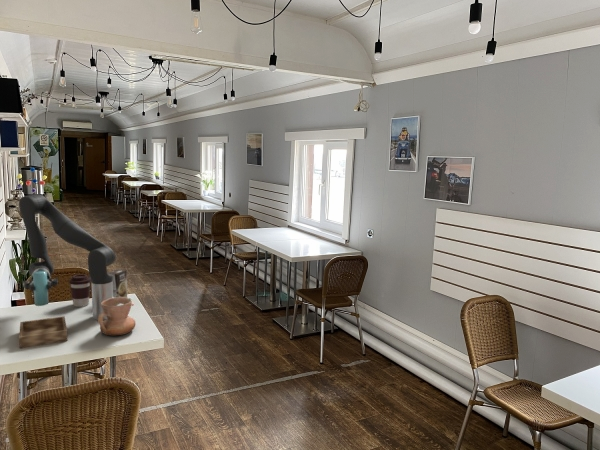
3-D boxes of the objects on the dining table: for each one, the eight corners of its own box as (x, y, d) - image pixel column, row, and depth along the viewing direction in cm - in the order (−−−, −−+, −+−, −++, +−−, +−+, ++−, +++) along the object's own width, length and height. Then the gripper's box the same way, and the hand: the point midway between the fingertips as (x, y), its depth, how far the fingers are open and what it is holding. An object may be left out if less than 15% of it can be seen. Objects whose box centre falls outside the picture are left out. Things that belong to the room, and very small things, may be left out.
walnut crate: (65, 325, 209) (64, 316, 208) (67, 340, 194) (66, 330, 193) (21, 331, 201) (20, 321, 200) (19, 348, 186) (18, 337, 185)
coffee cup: (78, 300, 242) (76, 272, 240) (95, 302, 241) (94, 274, 238) (66, 307, 232) (64, 277, 230) (84, 308, 231) (83, 279, 229)
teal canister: (48, 301, 204) (46, 270, 202) (48, 304, 200) (46, 273, 198) (34, 302, 202) (32, 271, 200) (34, 306, 197) (32, 274, 195)
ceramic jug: (123, 322, 215) (121, 292, 213) (145, 329, 208) (143, 298, 206) (88, 335, 200) (86, 304, 198) (110, 343, 193) (108, 311, 190)
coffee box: (117, 304, 238) (116, 274, 235) (106, 303, 239) (105, 273, 237) (127, 299, 247) (127, 269, 244) (116, 298, 248) (115, 268, 245)
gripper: (22, 271, 208) (20, 281, 193) (58, 268, 215) (59, 278, 200) (23, 287, 209) (21, 299, 195) (59, 284, 216) (60, 294, 201)
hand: (40, 288), depth 197 cm, fingers closed on teal canister, 5 cm apart
